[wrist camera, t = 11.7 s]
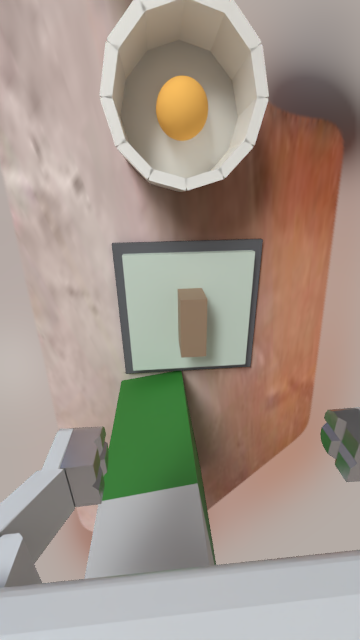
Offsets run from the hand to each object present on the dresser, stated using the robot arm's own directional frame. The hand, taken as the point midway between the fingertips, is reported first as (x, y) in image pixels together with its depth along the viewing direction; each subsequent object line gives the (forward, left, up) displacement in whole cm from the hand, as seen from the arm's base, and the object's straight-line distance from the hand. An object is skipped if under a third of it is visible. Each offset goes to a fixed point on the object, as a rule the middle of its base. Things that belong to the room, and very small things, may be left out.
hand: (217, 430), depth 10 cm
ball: (-10, -10, -18) cm, 23 cm away
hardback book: (+16, +13, -22) cm, 30 cm away
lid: (+2, +3, -21) cm, 21 cm away
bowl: (-10, -10, -21) cm, 26 cm away
